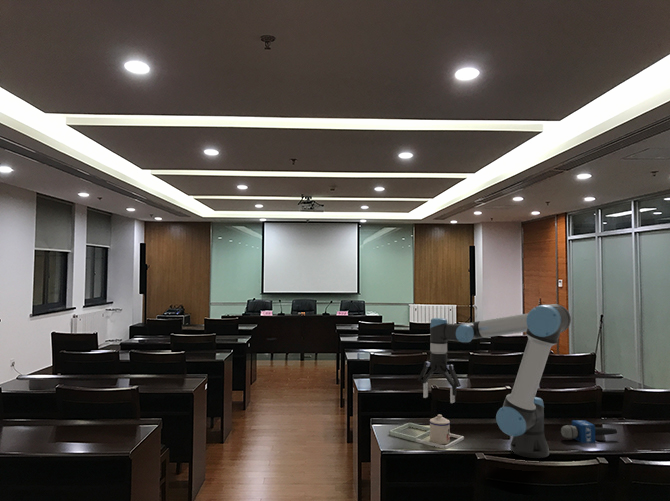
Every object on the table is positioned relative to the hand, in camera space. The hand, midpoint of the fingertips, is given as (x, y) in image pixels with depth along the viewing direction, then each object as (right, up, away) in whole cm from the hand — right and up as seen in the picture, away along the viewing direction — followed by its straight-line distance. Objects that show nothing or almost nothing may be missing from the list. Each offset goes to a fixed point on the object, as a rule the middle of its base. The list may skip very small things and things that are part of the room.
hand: (438, 399), depth 219 cm
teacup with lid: (0, -18, -1) cm, 18 cm away
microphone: (+68, -19, +1) cm, 71 cm away
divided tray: (-5, -18, +3) cm, 19 cm away
